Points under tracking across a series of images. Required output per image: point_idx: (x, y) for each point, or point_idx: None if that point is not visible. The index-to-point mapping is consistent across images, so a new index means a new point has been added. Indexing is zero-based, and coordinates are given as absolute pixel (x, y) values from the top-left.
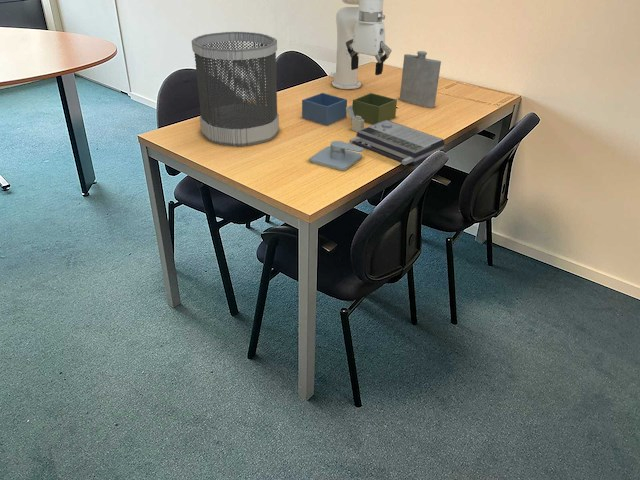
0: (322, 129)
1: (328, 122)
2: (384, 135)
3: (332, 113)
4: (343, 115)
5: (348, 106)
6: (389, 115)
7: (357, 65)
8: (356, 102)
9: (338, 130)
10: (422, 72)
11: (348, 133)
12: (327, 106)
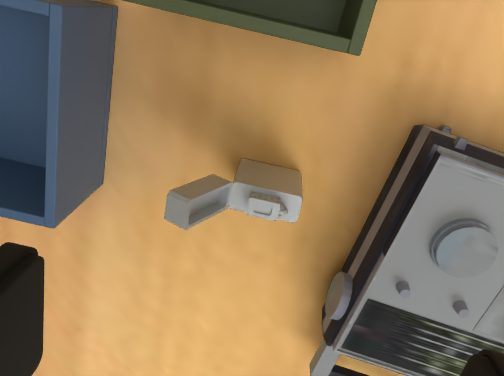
0: (114, 233)
1: (99, 176)
2: None
3: (82, 159)
4: (107, 41)
5: (171, 200)
6: None
7: (14, 296)
8: (145, 4)
9: None
10: None
11: (242, 223)
12: (47, 219)
